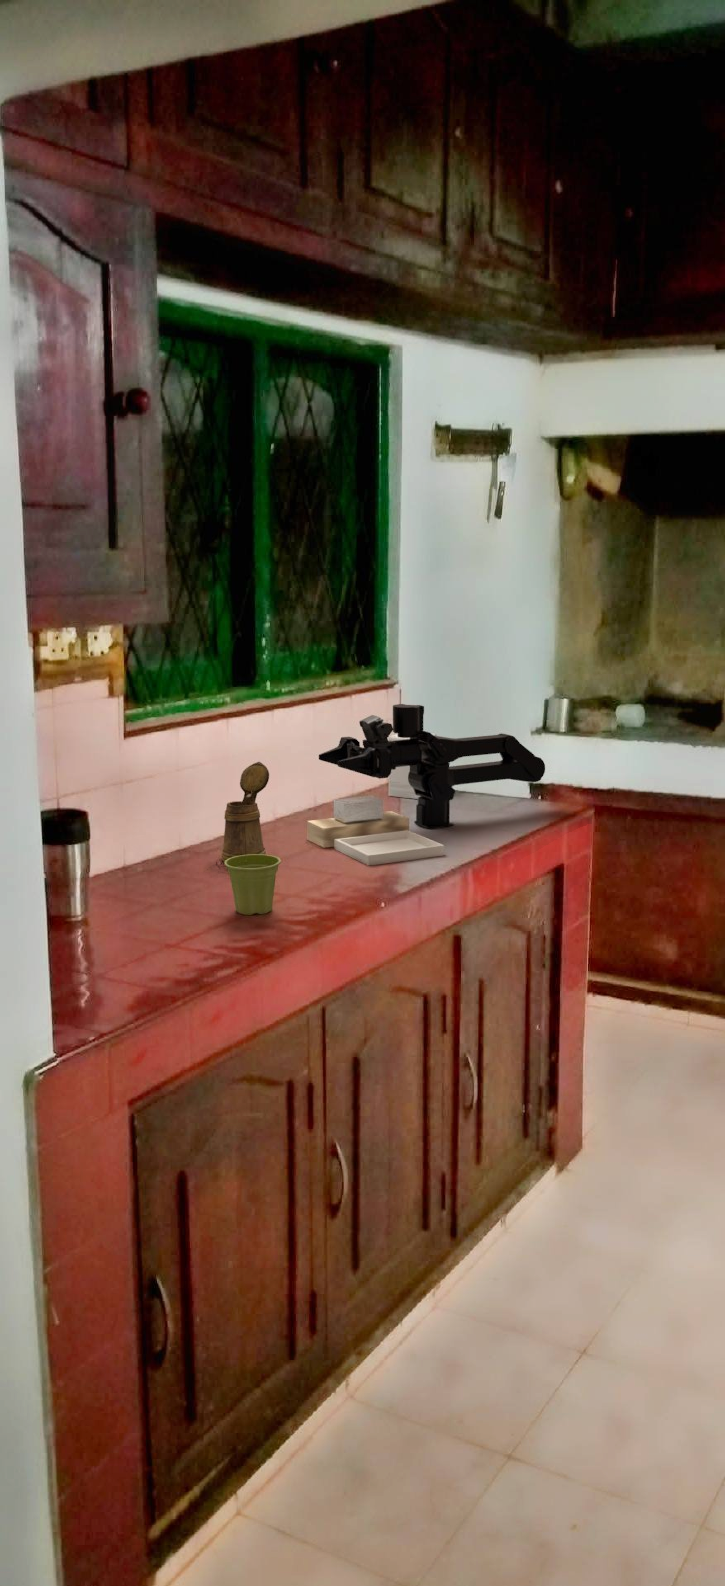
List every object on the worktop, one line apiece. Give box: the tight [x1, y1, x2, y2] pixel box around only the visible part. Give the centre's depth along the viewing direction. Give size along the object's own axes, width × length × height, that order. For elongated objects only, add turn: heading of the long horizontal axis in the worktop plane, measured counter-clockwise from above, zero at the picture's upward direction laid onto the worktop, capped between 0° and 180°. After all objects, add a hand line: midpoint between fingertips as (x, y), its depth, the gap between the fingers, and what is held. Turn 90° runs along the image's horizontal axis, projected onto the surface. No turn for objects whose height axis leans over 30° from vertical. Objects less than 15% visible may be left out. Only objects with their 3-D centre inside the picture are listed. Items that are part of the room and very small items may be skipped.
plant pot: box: [224, 854, 282, 916], centre depth 210 cm, size 9×9×9 cm
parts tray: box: [333, 830, 445, 866], centre depth 250 cm, size 17×15×2 cm
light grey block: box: [333, 794, 384, 823], centre depth 260 cm, size 9×5×4 cm, turn 117°
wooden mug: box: [221, 761, 270, 863], centre depth 246 cm, size 9×14×18 cm, turn 161°
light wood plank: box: [306, 810, 410, 849], centre depth 261 cm, size 20×8×4 cm, turn 117°
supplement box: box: [388, 733, 437, 800], centre depth 304 cm, size 9×9×15 cm
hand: (328, 760), depth 259 cm, fingers open, 9 cm apart
